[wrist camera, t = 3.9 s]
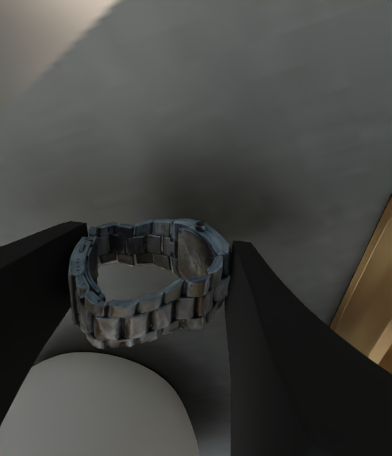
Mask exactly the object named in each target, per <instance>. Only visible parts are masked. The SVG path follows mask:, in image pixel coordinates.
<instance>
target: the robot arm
mask: <svg viewBox="0 0 392 456" xmlns="http://www.w3.org/2000/svg"><path fill="white" fill-rule="evenodd" d="M82 237H88V231H87V223H81V222H73V221H69V222H65V223H62V224H59V225H56V226H53V227H51V228H48V229H45V230H43V231H40V232H38V233H35V234H33V235H30V236H28V237H25V238H23V239H20V240H18V241H15V242H12V243H10V244H7V245H4V246H2V247H0V426H1V424H2V422H3V420H4V418H5V416H6V414H7V412H8V410H9V408H10V406H11V405H12V403H13V401H14V399H15V397H16V395H17V393H18V391H19V389H20V387H21V385H22V384H23V382H24V380H25V378H26V376H27V374H28V373H29V371H30V369H31V367H32V365H33V364H34V362H35V360H36V358H37V357H38V355H39V353H40V352H41V350H42V349H43V347H44V345H45V344H46V342H47V341H48V340H49V338H50V337H51V335H52V334H53V332H54V331H55V329H56V328H57V326H58V325H59V324H60V322H61V321H62V319H63V318H64V316H65V315H66V313H67V312H68V310H69V309H70V307H71V297H70V289H69V282H68V271H69V262H70V256H71V254H72V252H73V250H74V248H75V246H76V245H77V243H78V242H79V241H80V240H81V238H82ZM225 319H226V330H227V340H228V351H229V362H230V374H231V456H392V374H391V373H389V372H388V371H387V370H385V369H384V368H382V367H381V366H379V365H378V364H376V363H375V362H374V361H372V360H371V359H369V358H368V357H367V356H365V355H364V354H363V353H361V352H360V351H359V350H357V349H356V348H355V347H353V346H352V345H351V344H350V343H348V342H347V341H346V340H344V339H343V338H342V337H341V336H339V335H338V334H337V333H335V332H334V331H333V330H332V329H331V328H329V327H328V326H327V325H326V324H325V323H324V322H322V321H321V320H320V319H319V318H318V317H317V316H316V315H315V314H314V313H312V312H311V311H310V310H309V309H308V308H307V307H306V306H305V305H304V304H303V303H302V302H301V301H300V300H299V299H298V298H297V297H296V296H295V295H294V294H293V293H292V292H291V291H290V290H289V289H288V288H287V287H286V286H285V285H284V283H283V282H282V281H281V280H280V279H279V278H278V277H277V275H276V274H275V273H274V272H273V271H272V269H271V268H270V267H269V266H268V264H267V263H266V262H265V261H264V259H263V258H262V257H261V255H260V254H259V253H258V251H257V250H256V249H255V247H254V246H253V245H252V243H251V242H243V241H235V240H233V246H232V251H231V269H230V281H229V287H228V295H227V296H226V297H225Z"/></svg>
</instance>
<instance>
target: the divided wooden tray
mask: <svg viewBox="0 0 392 456" xmlns="http://www.w3.org/2000/svg"><path fill="white" fill-rule="evenodd" d="M329 328H331V329H332V330H333V331H334V332H335V333H337V334H338V335H339V336H341V337H342V338H343V339H344V340H346V341H347V342H348V343H350V344H351V345H352V346H353V347H355V348H356V349H357V350H359V351H360V352H361V353H363V354H364V355H365V356H367V357H368V358H369V359H371V360H372V361H374V362H375V363H376V364H378V365H379V366H381V367H382V368H384V369H385V370H387V371H388V372H389V373H391V374H392V196H391V198H390V200H389V203H388V205H387V207H386V209H385V211H384V213H383V215H382V217H381V219H380V222H379V224H378V226H377V228H376V230H375V232H374V234H373V236H372V238H371V240H370V243H369V245H368V247H367V249H366V251H365V253H364V255H363V257H362V259H361V262H360V264H359V266H358V268H357V270H356V272H355V274H354V276H353V278H352V281H351V283H350V285H349V287H348V289H347V291H346V293H345V295H344V297H343V300H342V302H341V304H340V306H339V308H338V310H337V312H336V314H335V316H334V319H333V321H332V323H331V325H330V327H329Z"/></svg>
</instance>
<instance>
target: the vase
mask: <svg viewBox="0 0 392 456" xmlns="http://www.w3.org/2000/svg"><path fill="white" fill-rule="evenodd" d="M0 456H200V453H199V449H198V445H197V441H196V437H195V434H194V431H193V427H192V425H191V422H190V419H189V417H188V414H187V412H186V409H185V407H184V405H183V403H182V401H181V399H180V398H179V396H178V394H177V393H176V391H175V390H174V389H173V388H172V386H171V385H170V384H169V383H168V382H167V381H166V380H164V379H163V378H162V377H160V376H159V375H158V374H156V373H155V372H153V371H152V370H150V369H148V368H146V367H144V366H142V365H140V364H138V363H135V362H133V361H130V360H127V359H125V358H121V357H117V356H112V355H108V354H101V353H93V352H73V353H67V354H61V355H57V356H55V357H52V358H49V359H47V360H44V361H42V362H40V363H39V364H37V365H35V366H33V367H31V369H30V371H29V373H28V374H27V376H26V378H25V380H24V382H23V384H22V385H21V387H20V389H19V391H18V393H17V395H16V397H15V399H14V401H13V403H12V405H11V406H10V408H9V410H8V412H7V414H6V416H5V418H4V420H3V422H2V424H1V426H0Z"/></svg>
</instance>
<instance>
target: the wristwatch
mask: <svg viewBox="0 0 392 456" xmlns="http://www.w3.org/2000/svg"><path fill="white" fill-rule="evenodd" d="M88 234H89V236H90V237H82V238H81V240H80V241H79V242H78V243H77V245H76V246H75V248H74V250H73V252H72V254H71V256H70V262H69V271H68V282H69V289H70V297H71V313H72V320H73V322H74V324H75V325H79V327H80V329H81V331H82V332H83V333H85V334H86V335H87V340H88V342H90V343H91V344H92V345H93V346H94V347H95V348H100V349H106V347H107V346H110V347H111V348H117V347H120V346H126V347H131V346H133V345H135V343H139V344H141V343H146V342H151V341H153V340H156V339H157V338H158V337H159V335H160V334H170V333H172V332H174V331H176V330H178V329H179V328H182V329H185V330H194V329H202V328H203V327H204V326H205V325H206V324H207V323H209V322H210V321H211V320H212V319H213V318H214V317H215V315H216V313H217V311H218V309H219V308H220V307H221V306H222V304H223V302H224V299H225V297H226V296H227V295H228V287H229V281H230V269H231V247H230V245H229V244H228V242H227V241H226V240H225V239H224V238H223V237H222V236H221V235H220V234H219V233H218V232H217V231H215V230H214V229H213V228H211V227H210V226H209V225H206V222H205V221H202V220H201V221H197V220H193V219H190V218H187V219H176V220H173V219H160V220H155V221H154V220H152V219H147V220H143V221H140V222H138V223H137V224H136V225H129V224H120V225H117V223H115V222H114V223H108V224H103V225H100V226H98V227H91V228H90V229H89V232H88ZM112 263H120V264H124V265H128V266H132V267H135V266H136V265H154V266H156V267H159V268H162V269H165V270H167V271H170V272H172V273H173V274H175V275H176V276H177V277H178V278H179V279H178V280H177V281H175V282H174V283H172V284H170V285H169V286H167V287H166V288H164V289H163V290H162V291H160V292H157V293H154V294H151V295H148V296H145V297H142V298H139V299H137V300H136V301H134V300H128V301H115V300H112V301H110V302H108V303H106V302H105V296H104V294H102V293H101V290H100V288H99V287H98V285H97V278H98V268H99V266H100V265H108V264H112Z"/></svg>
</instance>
